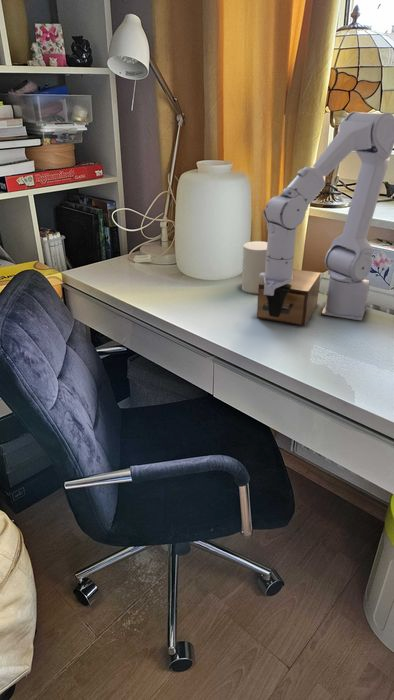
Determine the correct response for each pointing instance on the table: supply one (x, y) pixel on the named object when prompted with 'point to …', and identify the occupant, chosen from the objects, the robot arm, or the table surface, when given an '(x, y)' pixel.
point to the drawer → (284, 307)
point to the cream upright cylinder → (253, 265)
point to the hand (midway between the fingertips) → (274, 315)
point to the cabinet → (302, 291)
